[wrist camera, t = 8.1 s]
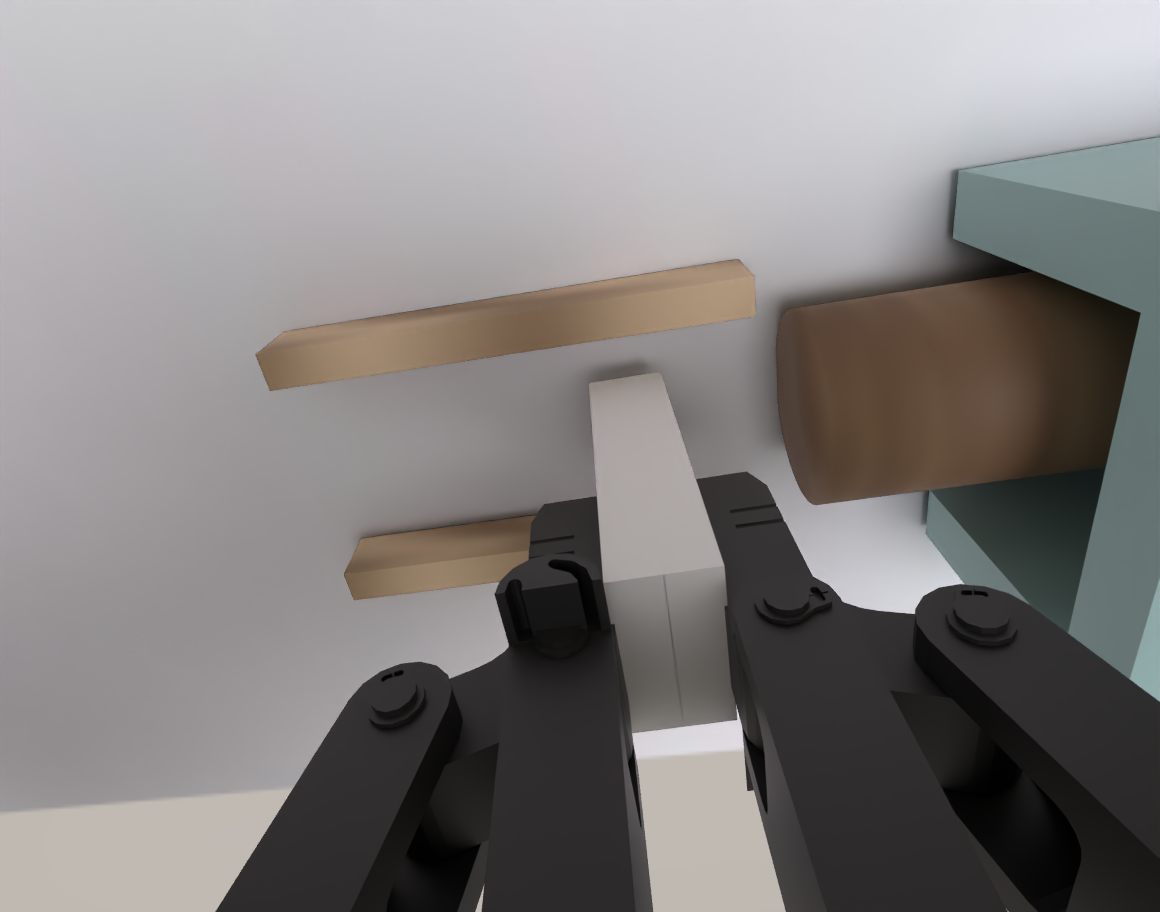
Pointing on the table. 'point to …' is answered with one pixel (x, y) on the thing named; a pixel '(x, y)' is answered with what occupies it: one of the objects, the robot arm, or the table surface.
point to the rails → (485, 334)
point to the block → (1144, 423)
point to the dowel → (950, 386)
